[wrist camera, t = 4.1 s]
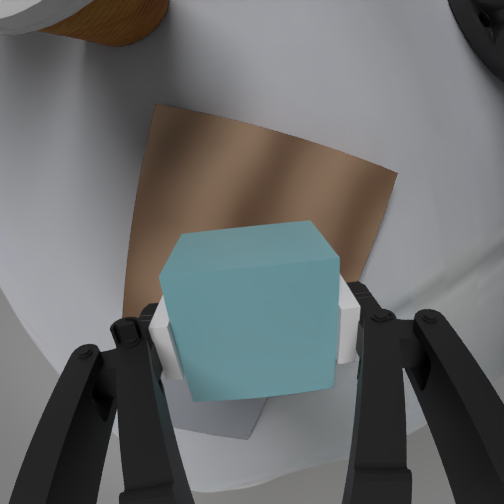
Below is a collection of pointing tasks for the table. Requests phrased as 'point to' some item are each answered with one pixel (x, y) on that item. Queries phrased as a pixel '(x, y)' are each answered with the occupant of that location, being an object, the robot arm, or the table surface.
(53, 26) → the disposable coffee cup
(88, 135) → the table surface
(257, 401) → the mat
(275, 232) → the teal matte cube
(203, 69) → the table surface
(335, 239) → the brown square board
